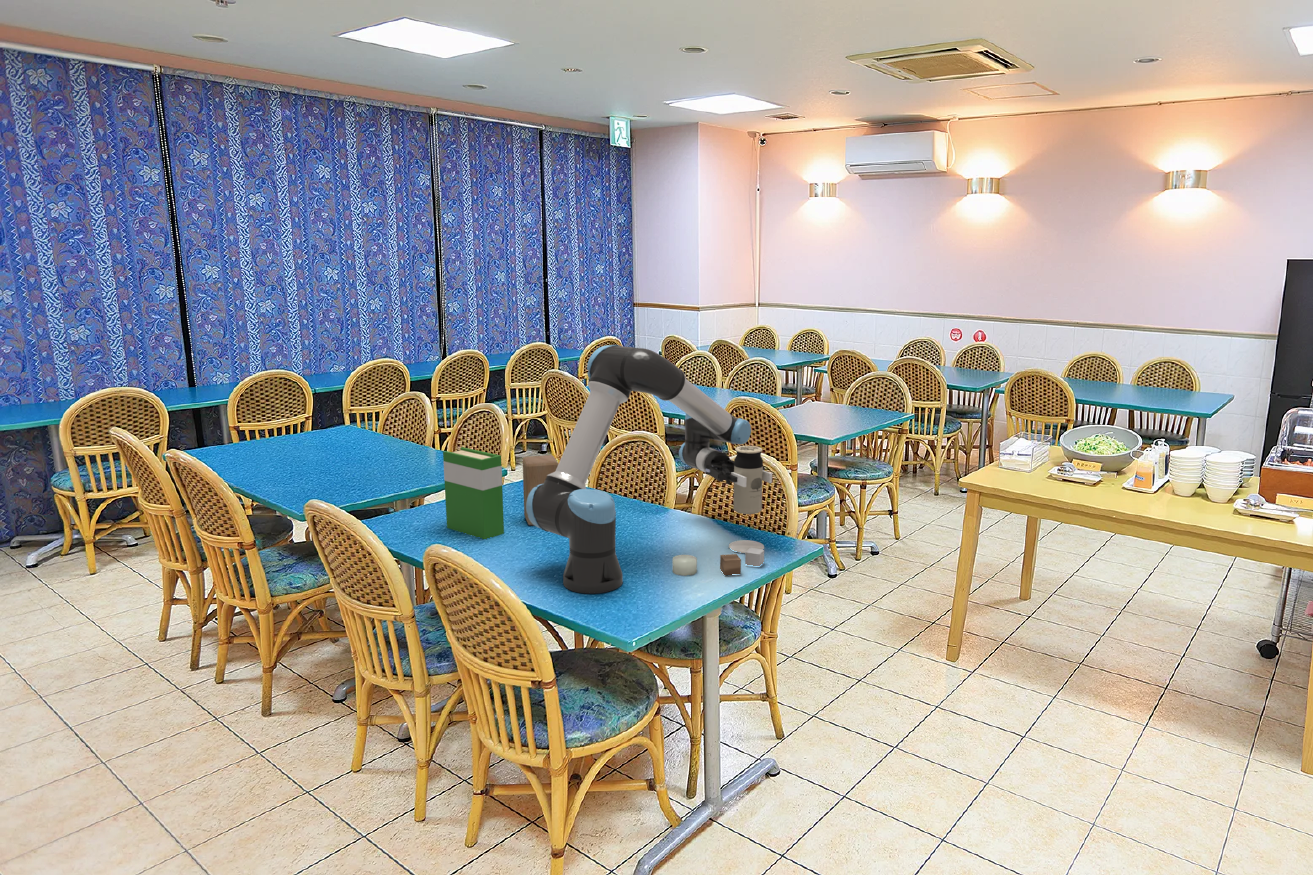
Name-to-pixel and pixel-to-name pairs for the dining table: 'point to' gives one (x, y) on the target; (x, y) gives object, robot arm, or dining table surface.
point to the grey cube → (754, 557)
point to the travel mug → (748, 480)
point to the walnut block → (730, 564)
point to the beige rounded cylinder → (684, 565)
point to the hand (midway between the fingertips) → (758, 480)
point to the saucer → (745, 545)
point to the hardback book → (474, 492)
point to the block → (536, 474)
